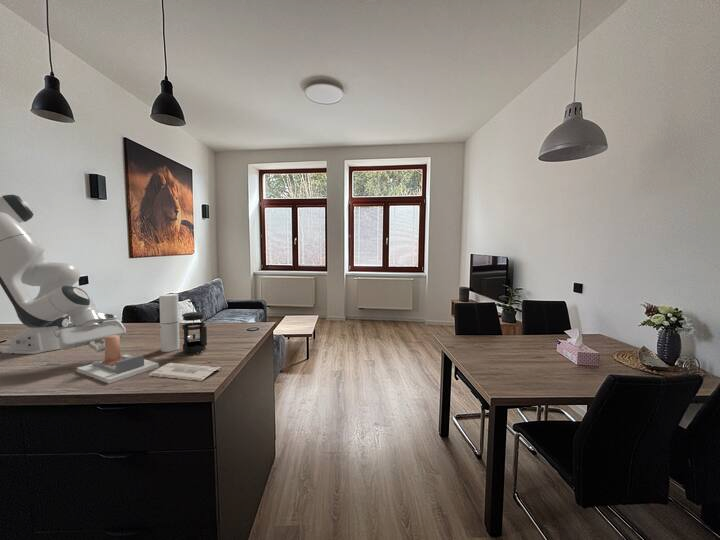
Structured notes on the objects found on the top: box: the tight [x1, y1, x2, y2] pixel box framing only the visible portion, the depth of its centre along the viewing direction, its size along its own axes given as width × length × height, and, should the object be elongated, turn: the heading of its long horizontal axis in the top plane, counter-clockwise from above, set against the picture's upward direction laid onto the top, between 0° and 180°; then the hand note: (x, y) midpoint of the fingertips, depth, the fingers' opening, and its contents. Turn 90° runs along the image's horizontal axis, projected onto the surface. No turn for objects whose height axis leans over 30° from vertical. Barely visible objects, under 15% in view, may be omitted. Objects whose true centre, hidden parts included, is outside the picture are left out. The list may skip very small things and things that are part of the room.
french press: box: [181, 299, 208, 355], centre depth 130 cm, size 12×9×23 cm
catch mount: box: [76, 354, 160, 385], centre depth 109 cm, size 22×16×6 cm
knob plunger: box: [100, 335, 124, 366], centre depth 111 cm, size 5×5×10 cm
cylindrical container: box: [158, 293, 180, 353], centre depth 132 cm, size 7×7×25 cm
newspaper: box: [147, 362, 223, 381], centre depth 108 cm, size 23×12×2 cm, turn 79°
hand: (101, 350), depth 114 cm, fingers closed
